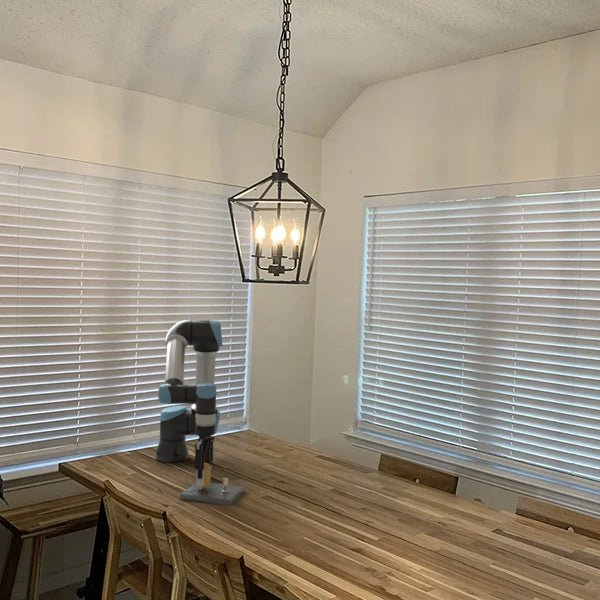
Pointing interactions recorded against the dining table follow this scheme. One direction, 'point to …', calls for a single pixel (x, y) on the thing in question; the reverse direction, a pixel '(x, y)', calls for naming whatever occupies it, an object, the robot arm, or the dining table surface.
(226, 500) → the junction plate
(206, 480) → the wooden jar
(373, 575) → the dining table surface
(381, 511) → the dining table surface
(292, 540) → the dining table surface
